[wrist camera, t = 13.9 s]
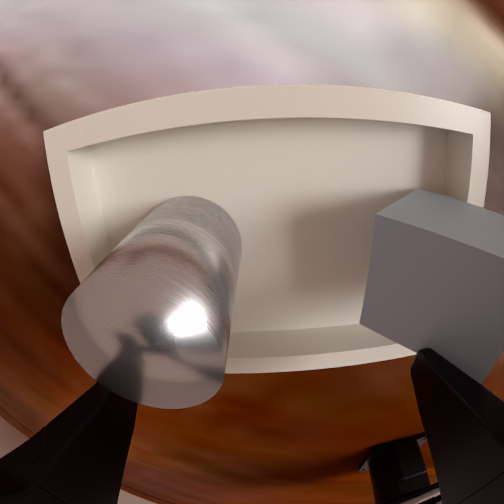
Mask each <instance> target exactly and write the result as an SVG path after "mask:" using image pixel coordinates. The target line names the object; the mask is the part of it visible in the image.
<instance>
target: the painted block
mask: <svg viewBox="0 0 504 504" xmlns="http://www.w3.org/2000/svg"><path fill="white" fill-rule="evenodd" d="M359 324H361V325H363V326H365V327H367V328H369V329H370V330H372V331H374V332H376V333H378V334H380V335H382V336H384V337H386V338H388V339H390V340H392V341H394V342H396V343H398V344H400V345H402V346H404V347H406V348H408V349H410V350H412V351H414V352H416V353H417V352H418V350H420V349H425V348H431V349H433V350H434V351H435V352H437V353H438V354H440V355H441V356H442V357H444V358H445V359H447V360H448V361H449V362H451V363H452V364H454V365H455V366H456V367H458V368H459V369H461V370H462V371H463V372H465V373H466V374H467V375H469V376H470V377H472V378H473V379H474V380H476V381H477V382H478V383H480V384H482V383H483V381H484V380H485V378H486V377H487V375H488V374H489V372H490V371H491V369H492V368H493V366H494V364H495V363H496V361H497V360H498V358H499V356H500V355H501V353H502V351H503V349H504V215H502V214H499V213H497V212H494V211H491V210H488V209H485V208H482V207H479V206H476V205H473V204H470V203H467V202H464V201H461V200H457V199H454V198H451V197H448V196H444V195H441V194H437V193H434V192H430V191H426V190H423V189H419V188H418V189H416V190H415V191H413V192H411V193H410V194H408V195H406V196H405V197H403V198H401V199H400V200H398V201H396V202H395V203H393V204H391V205H389V206H388V207H386V208H384V209H383V210H381V211H379V212H378V213H376V214H375V223H374V232H373V241H372V249H371V257H370V264H369V271H368V277H367V283H366V290H365V295H364V301H363V306H362V312H361V317H360V322H359Z"/></svg>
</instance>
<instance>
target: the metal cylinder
mask: <svg viewBox="0 0 504 504" xmlns="http://www.w3.org/2000/svg"><path fill="white" fill-rule="evenodd" d="M241 252H242V241H241V236H240V233H239V230H238V228H237V225H236V223H235V222H234V220H233V219H232V217H231V216H230V215H229V214H228V213H227V212H226V211H225V210H224V209H223V208H222V207H220V206H219V205H217V204H216V203H214V202H212V201H210V200H207V199H205V198H201V197H197V196H179V197H175V198H171V199H169V200H167V201H165V202H163V203H162V204H160V205H159V206H158V207H156V208H155V209H154V210H153V211H152V212H151V213H150V214H149V215H148V216H147V217H146V218H145V219H144V220H142V221H141V222H140V223H139V224H138V225H137V226H136V227H135V228H134V229H133V230H132V231H131V232H130V233H129V234H128V235H127V236H126V237H125V238H124V239H123V240H122V241H121V242H120V243H119V244H118V245H117V246H116V247H115V248H114V249H113V250H112V251H111V252H110V253H109V254H108V255H107V256H106V257H105V258H104V259H103V260H102V261H101V262H100V263H99V264H98V266H97V267H96V268H95V269H94V270H93V271H92V272H91V273H90V274H89V275H88V276H87V277H86V278H85V280H84V281H83V282H82V283H81V284H80V285H79V286H78V287H77V288H76V290H75V291H74V292H73V293H72V294H71V295H70V296H69V298H68V299H67V301H66V302H65V304H64V307H63V310H62V316H61V324H62V331H63V335H64V338H65V341H66V343H67V345H68V347H69V349H70V351H71V353H72V354H73V356H74V358H75V359H76V360H77V362H78V363H79V364H80V365H81V367H82V368H83V369H84V370H85V371H86V372H87V373H88V374H89V375H90V376H91V377H92V378H94V379H95V380H96V381H97V382H99V383H100V384H101V385H103V386H104V387H106V388H107V389H109V390H110V391H112V392H114V393H115V394H117V395H119V396H121V397H123V398H126V399H128V400H130V401H133V402H136V403H139V404H142V405H146V406H150V407H156V408H164V409H180V408H188V407H192V406H196V405H198V404H201V403H203V402H205V401H207V400H209V399H210V398H211V397H213V396H214V395H215V394H216V393H217V392H218V390H219V389H220V387H221V385H222V383H223V380H224V376H225V368H226V361H227V353H228V346H229V338H230V331H231V324H232V316H233V309H234V302H235V295H236V288H237V280H238V273H239V266H240V259H241Z"/></svg>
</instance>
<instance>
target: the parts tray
mask: <svg viewBox="0 0 504 504" xmlns="http://www.w3.org/2000/svg"><path fill="white" fill-rule="evenodd" d="M490 130H491V113H490V112H487V111H484V110H481V109H477V108H474V107H470V106H467V105H463V104H459V103H455V102H451V101H447V100H442V99H438V98H433V97H428V96H423V95H417V94H412V93H406V92H399V91H392V90H385V89H376V88H367V87H356V86H342V85H321V84H275V85H254V86H240V87H229V88H219V89H210V90H202V91H195V92H189V93H182V94H176V95H171V96H165V97H160V98H155V99H150V100H145V101H141V102H136V103H132V104H128V105H124V106H120V107H116V108H112V109H109V110H105V111H102V112H98V113H95V114H92V115H88V116H85V117H82V118H79V119H76V120H73V121H70V122H67V123H64V124H61V125H59V126H56V127H53V128H51V129H48V130H46V131H43V133H44V141H45V148H46V155H47V161H48V167H49V173H50V178H51V183H52V188H53V192H54V197H55V201H56V205H57V210H58V214H59V217H60V221H61V225H62V229H63V232H64V236H65V239H66V242H67V246H68V249H69V252H70V255H71V258H72V261H73V264H74V267H75V270H76V273H77V276H78V279H79V281H80V284H81V283H82V282H83V281H84V280H85V278H86V277H87V276H88V275H89V274H90V273H91V272H92V271H93V270H94V269H95V268H96V267H97V266H98V264H99V263H100V262H101V261H102V260H103V259H104V258H105V257H106V256H107V255H108V254H109V253H110V252H111V251H112V250H113V249H114V248H115V247H116V246H117V245H118V244H119V243H120V242H121V241H122V240H123V239H124V238H125V237H126V236H127V235H128V234H129V233H130V232H131V231H132V230H133V229H134V228H135V227H136V226H137V225H138V224H139V223H140V222H141V221H142V220H144V219H145V218H146V217H147V216H148V215H149V214H150V213H151V212H152V211H153V210H154V209H155V208H156V207H158V206H159V205H160V204H162V203H163V202H165V201H167V200H169V199H171V198H175V197H179V196H197V197H201V198H205V199H207V200H210V201H212V202H214V203H216V204H217V205H219V206H220V207H222V208H223V209H224V210H225V211H226V212H227V213H228V214H229V215H230V216H231V217H232V219H233V220H234V222H235V223H236V225H237V228H238V230H239V233H240V236H241V241H242V252H241V259H240V266H239V273H238V280H237V288H236V295H235V302H234V309H233V316H232V324H231V331H230V338H229V346H228V353H227V361H226V368H225V373H267V372H286V371H301V370H313V369H323V368H333V367H341V366H349V365H357V364H364V363H371V362H377V361H383V360H389V359H395V358H400V357H405V356H410V355H415V354H416V352H414V351H412V350H410V349H408V348H406V347H404V346H402V345H400V344H398V343H396V342H394V341H392V340H390V339H388V338H386V337H384V336H382V335H380V334H378V333H376V332H374V331H372V330H370V329H369V328H367V327H365V326H363V325H361V324H359V322H360V317H361V312H362V306H363V301H364V295H365V290H366V283H367V277H368V271H369V264H370V257H371V249H372V241H373V232H374V223H375V214H376V213H378V212H379V211H381V210H383V209H384V208H386V207H388V206H389V205H391V204H393V203H395V202H396V201H398V200H400V199H401V198H403V197H405V196H406V195H408V194H410V193H411V192H413V191H415V190H416V189H418V188H419V189H423V190H426V191H430V192H434V193H437V194H441V195H444V196H448V197H451V198H454V199H457V200H461V201H464V202H467V203H470V204H473V205H476V206H479V207H482V208H483V207H484V200H485V194H486V186H487V177H488V167H489V154H490Z"/></svg>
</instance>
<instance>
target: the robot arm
mask: <svg viewBox="0 0 504 504" xmlns="http://www.w3.org/2000/svg"><path fill="white" fill-rule="evenodd" d="M411 376H412V381H413V385H414V390H415V394H416V399H417V404H418V409H419V413H420V417H421V420H422V423H423V427H424V430H425V434H422V435H418V436H415V437H412V438H408V439H405V440H401V441H397V442H393V443H389V444H385V445H381V446H377V447H374V448H372V449H371V450H370V452H369V453H368V455H367V456H366V458H365V459H364V461H363V462H362V464H361V465H360V467H359V468H358V469H359V472H362V471H367V470H369V472H370V477H371V482H372V487H373V493H374V498H375V504H412V503H415V502H417V501H420V500H422V499H424V498H427V497H429V496H431V495H433V494H435V493H437V492H440V494H441V495H439V496H436V497H433V498H430V499H428V500H426V501H423V502H421V503H419V504H441V503H442V504H504V401H503V400H501V399H500V398H499V397H497V396H496V395H495V394H493V393H492V392H491V391H489V390H488V389H487V388H485V387H484V386H483V385H481V384H480V383H478V382H477V381H476V380H474V379H473V378H472V377H470V376H469V375H467V374H466V373H465V372H463V371H462V370H461V369H459V368H458V367H456V366H455V365H454V364H452V363H451V362H449V361H448V360H447V359H445V358H444V357H442V356H441V355H440V354H438V353H437V352H435V351H434V350H433V349H431V348H425V349H420V350H418V352H417V353H416V356H415V359H414V361H413V364H412V366H411ZM137 405H138V403H136V402H133V401H130V400H128V399H126V398H123V397H121V396H119V395H117V394H115V393H114V392H112V391H110V390H109V389H107V388H106V387H104V386H103V385H101V384H100V383H99V382H97V383H96V384H95V385H94V386H92V387H91V388H90V389H89V390H88V391H86V392H85V393H84V394H83V395H82V396H80V397H79V398H78V399H77V400H76V401H74V402H73V403H72V404H71V405H70V406H69V407H67V408H66V409H65V410H64V411H63V412H61V413H60V414H59V415H58V416H57V417H55V418H54V419H53V420H52V421H51V422H49V423H48V424H47V426H45V427H43V428H42V429H41V430H40V431H39V432H37V433H36V434H35V435H34V436H32V437H31V438H30V439H29V440H27V441H26V442H24V443H23V444H22V445H20V446H19V447H17V448H16V449H14V450H13V451H11V452H10V453H8V454H7V455H5V456H4V457H2V458H1V459H0V504H117V502H118V496H119V492H120V487H121V482H122V477H123V473H124V468H125V464H126V459H127V455H128V451H129V447H130V443H131V438H132V434H133V430H134V425H135V419H136V412H137ZM426 440H428V444H429V448H430V451H431V455H432V459H433V463H434V467H435V471H436V475H437V480H438V482H437V483H435V484H433V485H431V486H430V481H429V478H428V474H427V470H426V466H425V463H424V460H423V457H422V454H421V450H420V447H421V446H422V445H423V444H424V442H425V441H426Z"/></svg>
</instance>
